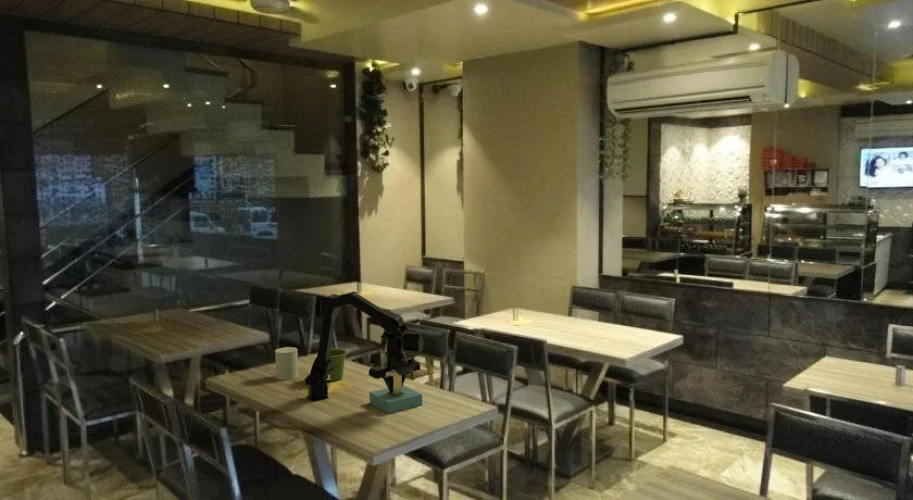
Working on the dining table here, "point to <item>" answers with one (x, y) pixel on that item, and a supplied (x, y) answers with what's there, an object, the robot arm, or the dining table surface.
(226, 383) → the dining table surface
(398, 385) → the peg
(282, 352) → the can
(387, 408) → the socket block
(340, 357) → the plant pot
